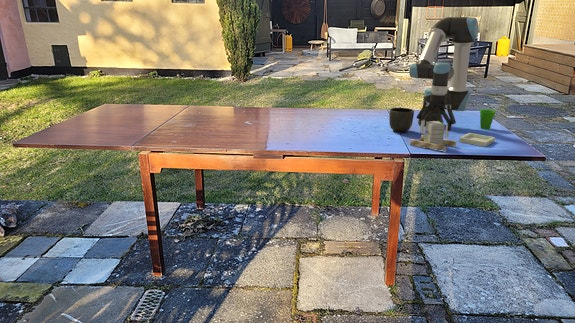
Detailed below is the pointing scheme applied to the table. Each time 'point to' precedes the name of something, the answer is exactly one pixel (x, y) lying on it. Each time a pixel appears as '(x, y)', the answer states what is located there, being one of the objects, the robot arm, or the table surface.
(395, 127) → the planter
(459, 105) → the robot arm
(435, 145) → the open u-shaped frame
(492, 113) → the cup
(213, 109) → the table surface
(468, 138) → the tray
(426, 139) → the supplement box
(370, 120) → the table surface
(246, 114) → the table surface
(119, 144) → the table surface
